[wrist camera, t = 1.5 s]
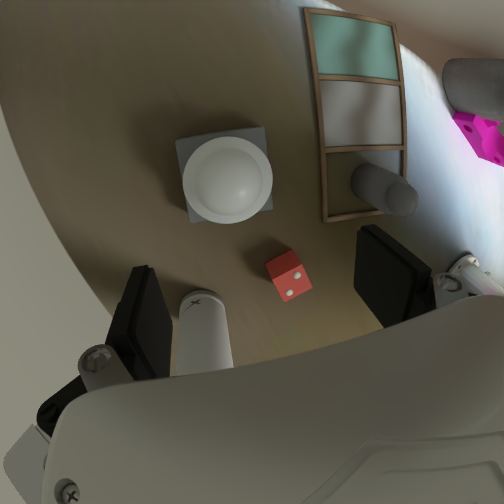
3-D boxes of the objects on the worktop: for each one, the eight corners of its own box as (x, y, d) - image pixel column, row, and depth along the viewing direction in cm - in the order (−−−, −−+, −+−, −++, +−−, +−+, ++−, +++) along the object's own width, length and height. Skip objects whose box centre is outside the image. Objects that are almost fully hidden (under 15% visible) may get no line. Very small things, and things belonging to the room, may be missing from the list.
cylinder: (381, 162, 33) (429, 181, 24) (380, 196, 35) (425, 223, 27) (350, 164, 32) (396, 184, 24) (350, 200, 35) (393, 229, 26)
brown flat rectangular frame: (393, 23, 24) (395, 23, 23) (401, 209, 37) (403, 210, 36) (302, 9, 22) (303, 7, 22) (322, 221, 35) (323, 223, 35)
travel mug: (183, 283, 36) (179, 418, 19) (230, 295, 38) (255, 425, 21) (173, 317, 39) (167, 445, 21) (216, 327, 41) (231, 451, 23)
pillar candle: (478, 79, 28) (546, 89, 15) (470, 125, 32) (540, 145, 18) (445, 47, 25) (520, 45, 12) (436, 95, 29) (517, 106, 16)
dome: (260, 129, 27) (276, 133, 21) (268, 204, 31) (284, 228, 25) (179, 142, 26) (171, 149, 20) (193, 217, 30) (190, 244, 24)
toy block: (452, 118, 31) (487, 125, 24) (464, 92, 29) (498, 96, 22) (486, 171, 36) (515, 184, 30) (496, 147, 34) (525, 157, 28)
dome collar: (259, 126, 29) (264, 126, 26) (267, 201, 33) (273, 209, 30) (177, 138, 28) (174, 140, 25) (191, 214, 32) (190, 223, 30)
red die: (292, 249, 37) (302, 264, 33) (302, 271, 38) (312, 288, 35) (265, 263, 37) (272, 280, 33) (277, 284, 39) (284, 302, 35)
